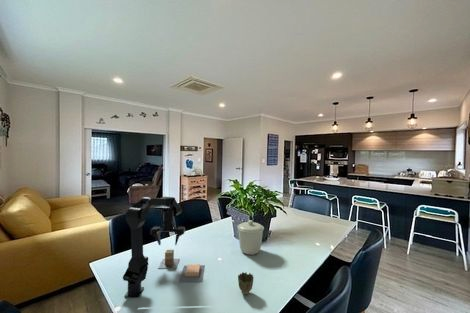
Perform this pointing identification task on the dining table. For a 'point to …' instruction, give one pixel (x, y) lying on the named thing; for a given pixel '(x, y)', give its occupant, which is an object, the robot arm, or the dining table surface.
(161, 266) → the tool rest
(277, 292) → the dining table surface
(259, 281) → the dining table surface
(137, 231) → the robot arm
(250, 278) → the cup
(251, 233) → the canister
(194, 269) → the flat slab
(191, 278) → the rubber mat
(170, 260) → the walnut block
